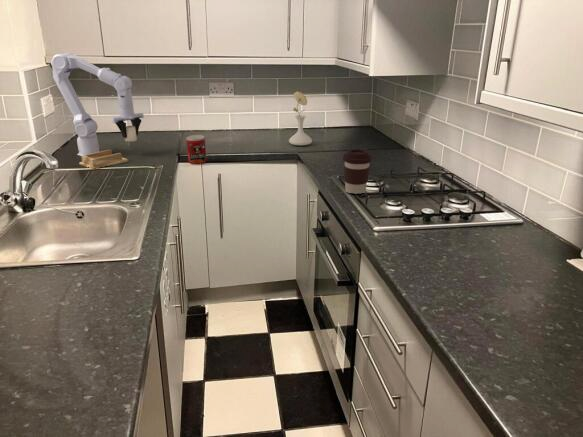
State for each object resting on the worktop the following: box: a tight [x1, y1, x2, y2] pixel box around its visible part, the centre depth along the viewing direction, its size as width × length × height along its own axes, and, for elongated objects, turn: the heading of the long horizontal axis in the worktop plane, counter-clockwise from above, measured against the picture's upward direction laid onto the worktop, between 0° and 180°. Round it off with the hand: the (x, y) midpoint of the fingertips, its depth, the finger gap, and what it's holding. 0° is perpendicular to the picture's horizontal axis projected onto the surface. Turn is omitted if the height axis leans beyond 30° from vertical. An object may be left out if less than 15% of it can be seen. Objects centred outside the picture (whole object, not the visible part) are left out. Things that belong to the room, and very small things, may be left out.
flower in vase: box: [288, 91, 313, 146], centre depth 225 cm, size 13×11×25 cm
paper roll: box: [124, 125, 138, 143], centre depth 208 cm, size 5×5×6 cm
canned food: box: [186, 134, 207, 166], centre depth 201 cm, size 8×8×11 cm
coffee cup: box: [342, 148, 373, 194], centre depth 166 cm, size 10×10×15 cm
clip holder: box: [79, 149, 129, 171], centre depth 202 cm, size 12×16×4 cm
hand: (130, 136), depth 209 cm, fingers closed on paper roll, 5 cm apart
